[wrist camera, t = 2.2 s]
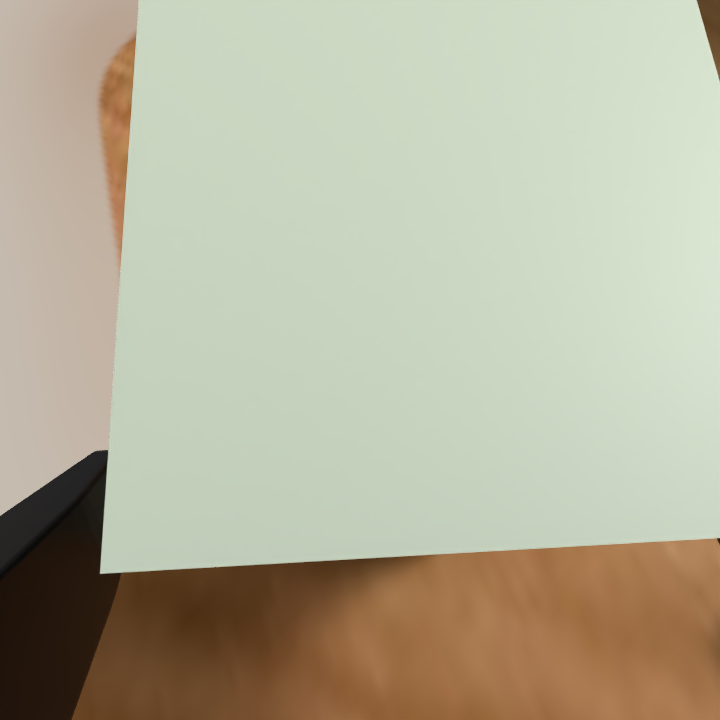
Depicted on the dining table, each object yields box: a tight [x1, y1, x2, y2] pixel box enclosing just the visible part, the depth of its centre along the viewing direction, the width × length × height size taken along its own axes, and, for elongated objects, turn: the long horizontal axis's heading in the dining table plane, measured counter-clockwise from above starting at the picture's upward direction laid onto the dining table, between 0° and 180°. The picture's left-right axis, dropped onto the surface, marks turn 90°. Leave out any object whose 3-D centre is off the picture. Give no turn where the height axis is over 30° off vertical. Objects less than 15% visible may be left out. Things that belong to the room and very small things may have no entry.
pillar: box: [100, 0, 720, 574], centre depth 11 cm, size 5×5×14 cm
